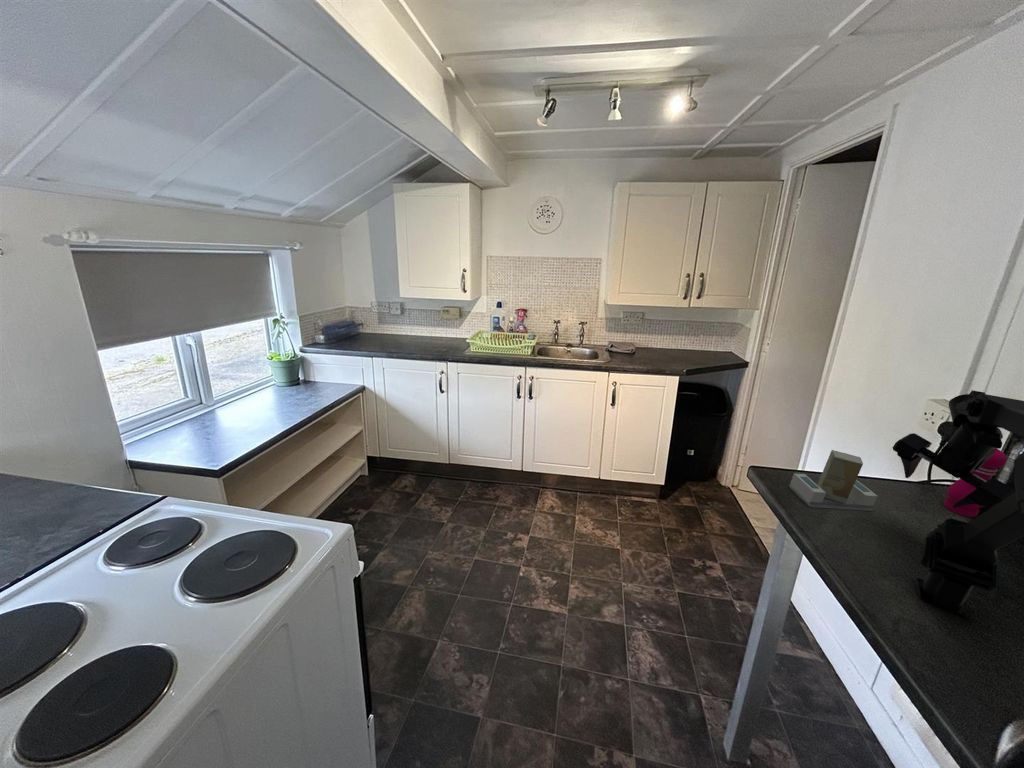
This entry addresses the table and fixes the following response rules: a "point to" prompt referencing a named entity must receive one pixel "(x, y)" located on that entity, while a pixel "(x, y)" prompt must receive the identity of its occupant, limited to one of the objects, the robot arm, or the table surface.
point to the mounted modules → (816, 494)
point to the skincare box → (839, 475)
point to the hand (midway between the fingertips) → (930, 491)
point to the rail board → (835, 503)
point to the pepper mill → (964, 488)
